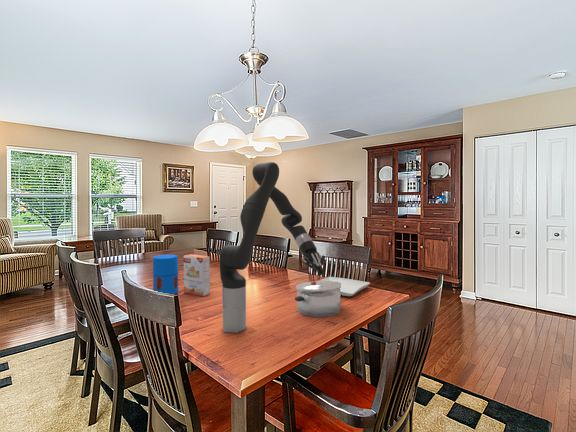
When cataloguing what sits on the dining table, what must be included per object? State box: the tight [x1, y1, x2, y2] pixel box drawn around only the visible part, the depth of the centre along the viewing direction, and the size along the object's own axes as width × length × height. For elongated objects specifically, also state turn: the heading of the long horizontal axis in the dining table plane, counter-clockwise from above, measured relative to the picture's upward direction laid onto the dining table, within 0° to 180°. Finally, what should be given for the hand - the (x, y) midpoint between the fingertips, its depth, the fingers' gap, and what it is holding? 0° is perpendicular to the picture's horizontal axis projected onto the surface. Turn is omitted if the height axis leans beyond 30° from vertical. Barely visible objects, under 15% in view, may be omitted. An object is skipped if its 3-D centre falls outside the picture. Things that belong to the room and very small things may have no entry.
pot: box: [294, 289, 341, 318], centre depth 148 cm, size 20×26×9 cm
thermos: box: [152, 254, 180, 297], centre depth 146 cm, size 11×11×25 cm
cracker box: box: [183, 253, 211, 297], centre depth 172 cm, size 14×6×21 cm, turn 62°
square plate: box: [319, 276, 371, 297], centre depth 181 cm, size 27×27×4 cm
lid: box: [295, 280, 341, 292], centre depth 148 cm, size 22×21×2 cm
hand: (322, 274), depth 145 cm, fingers closed
